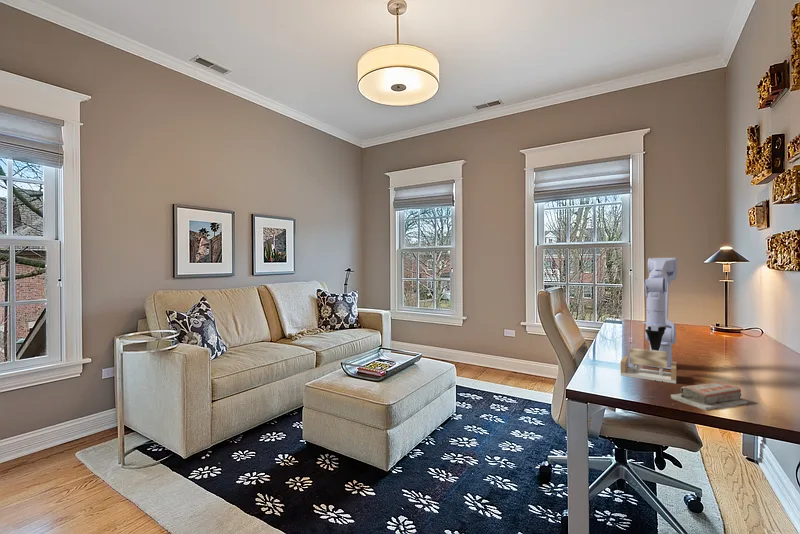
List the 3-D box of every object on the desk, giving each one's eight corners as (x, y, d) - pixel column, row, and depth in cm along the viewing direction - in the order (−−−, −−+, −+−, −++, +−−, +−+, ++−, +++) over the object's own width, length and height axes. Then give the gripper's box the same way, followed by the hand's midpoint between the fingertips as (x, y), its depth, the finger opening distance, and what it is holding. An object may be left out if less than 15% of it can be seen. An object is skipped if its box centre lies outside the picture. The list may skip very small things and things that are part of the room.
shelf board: (667, 366, 135) (667, 351, 135) (666, 368, 132) (666, 353, 132) (631, 361, 141) (631, 348, 141) (629, 363, 138) (629, 349, 138)
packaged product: (712, 378, 118) (750, 388, 109) (712, 394, 118) (750, 405, 109) (670, 383, 113) (706, 394, 103) (670, 400, 113) (706, 412, 103)
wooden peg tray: (624, 368, 146) (624, 355, 146) (676, 376, 136) (676, 362, 136) (620, 375, 137) (620, 361, 137) (676, 383, 127) (676, 368, 127)
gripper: (644, 308, 145) (644, 343, 145) (640, 311, 134) (640, 350, 134) (667, 309, 141) (667, 345, 141) (665, 313, 130) (665, 353, 130)
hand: (655, 348), depth 137 cm, fingers open, 7 cm apart
